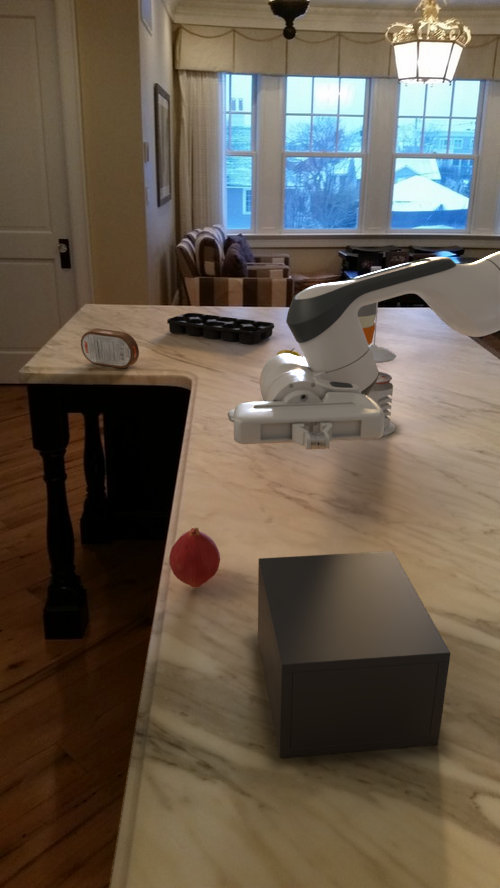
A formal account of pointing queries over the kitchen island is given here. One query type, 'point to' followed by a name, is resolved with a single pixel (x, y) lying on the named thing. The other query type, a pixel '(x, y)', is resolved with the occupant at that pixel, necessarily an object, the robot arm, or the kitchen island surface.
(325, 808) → the kitchen island surface
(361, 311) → the reusable coffee cup
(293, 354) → the apple
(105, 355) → the tin
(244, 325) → the egg carton
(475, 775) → the kitchen island surface
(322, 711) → the dark drawer box
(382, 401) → the french press
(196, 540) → the onion
